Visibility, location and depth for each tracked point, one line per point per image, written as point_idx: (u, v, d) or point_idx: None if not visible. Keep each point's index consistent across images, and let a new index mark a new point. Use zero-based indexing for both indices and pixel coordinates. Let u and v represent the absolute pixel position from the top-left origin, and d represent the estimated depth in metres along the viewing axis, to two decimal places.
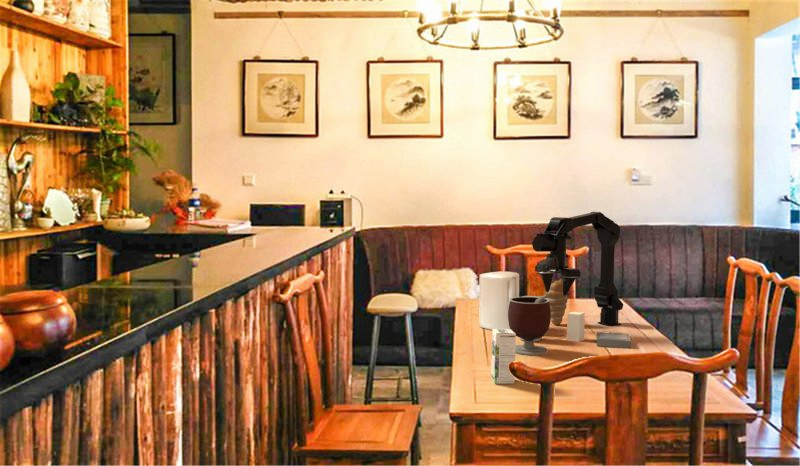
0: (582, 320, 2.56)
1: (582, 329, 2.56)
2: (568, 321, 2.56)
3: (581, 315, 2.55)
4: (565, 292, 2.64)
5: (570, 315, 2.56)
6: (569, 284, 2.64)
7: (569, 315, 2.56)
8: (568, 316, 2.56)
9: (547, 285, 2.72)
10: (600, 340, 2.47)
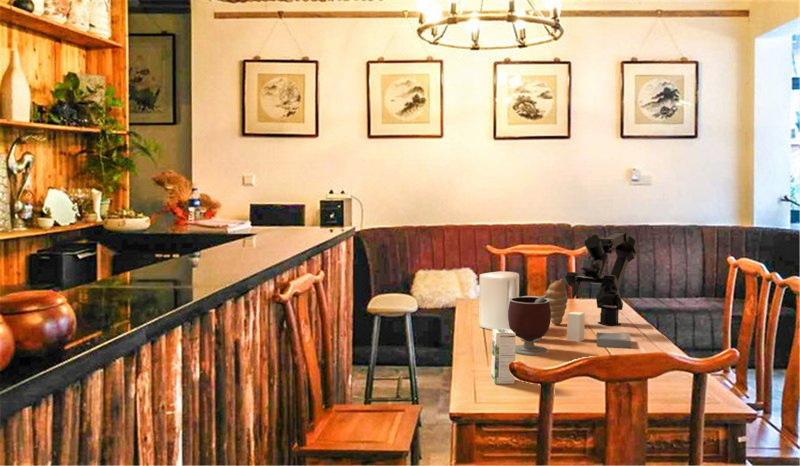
0: (582, 320, 2.56)
1: (582, 329, 2.56)
2: (568, 321, 2.56)
3: (581, 315, 2.55)
4: (599, 297, 2.60)
5: (570, 315, 2.56)
6: (604, 292, 2.62)
7: (569, 315, 2.56)
8: (568, 316, 2.56)
9: (574, 292, 2.67)
10: (600, 340, 2.47)
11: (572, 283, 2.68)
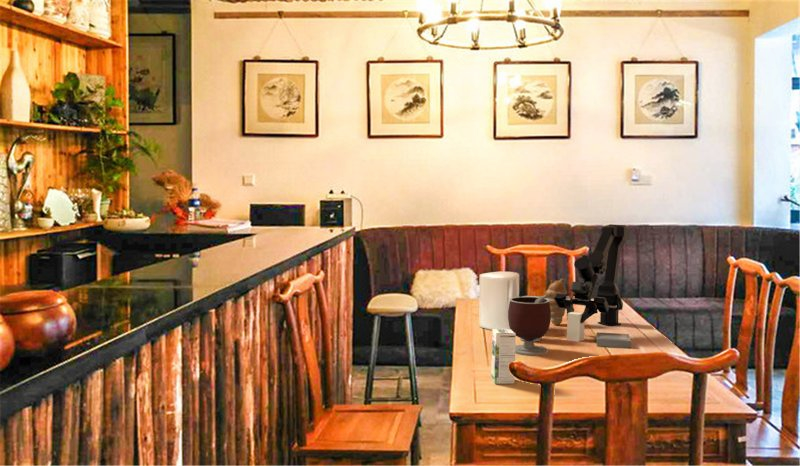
0: None
1: (582, 329, 2.56)
2: (568, 321, 2.56)
3: (581, 315, 2.55)
4: (583, 319, 2.55)
5: (570, 315, 2.56)
6: (588, 314, 2.56)
7: (569, 315, 2.56)
8: (568, 316, 2.56)
9: None
10: (600, 340, 2.47)
11: (567, 306, 2.60)
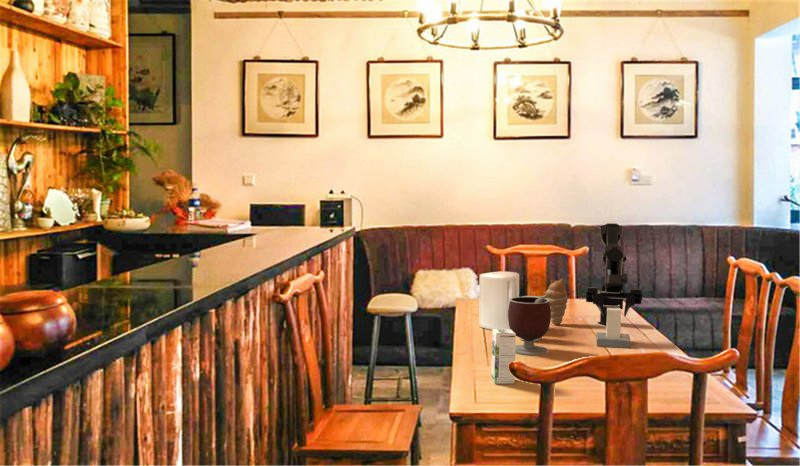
0: None
1: None
2: (608, 317, 2.49)
3: (620, 310, 2.49)
4: (626, 313, 2.49)
5: (610, 311, 2.48)
6: (628, 307, 2.51)
7: (609, 311, 2.48)
8: (608, 312, 2.49)
9: (603, 308, 2.51)
10: (600, 340, 2.47)
11: (599, 299, 2.52)
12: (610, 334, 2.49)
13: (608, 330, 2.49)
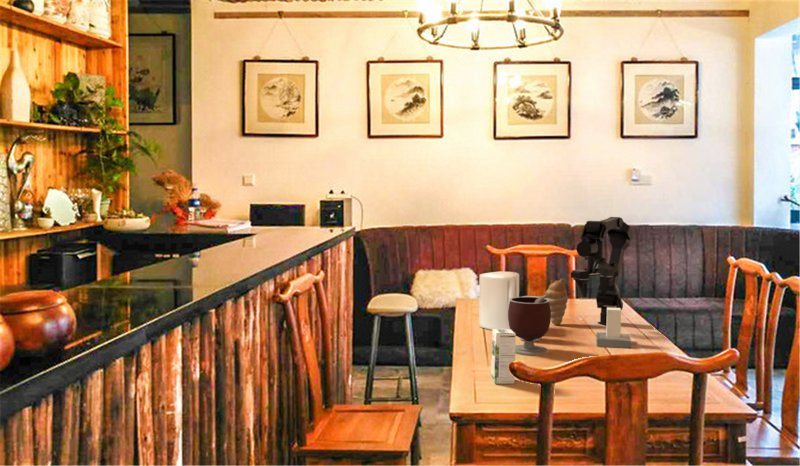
0: None
1: None
2: (608, 317, 2.49)
3: (620, 310, 2.49)
4: None
5: (610, 311, 2.48)
6: None
7: (609, 311, 2.48)
8: (608, 312, 2.49)
9: None
10: (600, 340, 2.47)
11: (585, 284, 2.66)
12: (610, 334, 2.49)
13: (608, 330, 2.49)
